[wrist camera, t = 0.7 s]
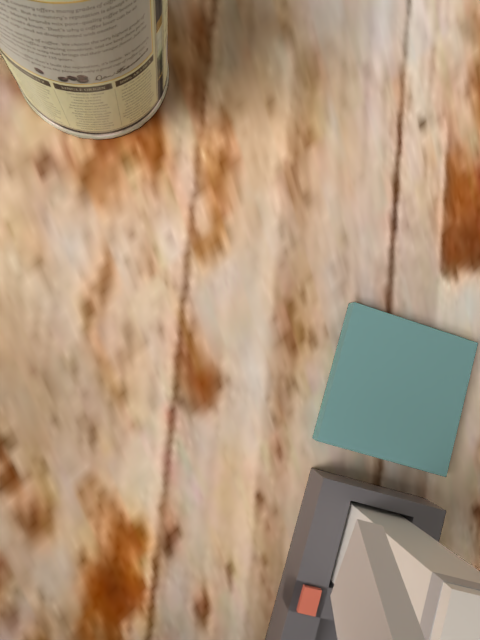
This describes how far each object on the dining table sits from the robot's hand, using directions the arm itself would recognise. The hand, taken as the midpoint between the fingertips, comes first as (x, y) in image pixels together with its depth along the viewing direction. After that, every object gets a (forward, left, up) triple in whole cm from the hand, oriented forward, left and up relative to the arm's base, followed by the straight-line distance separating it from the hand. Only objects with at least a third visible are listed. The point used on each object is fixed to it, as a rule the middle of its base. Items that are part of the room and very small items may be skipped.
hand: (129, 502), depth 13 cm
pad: (+6, -16, -17) cm, 25 cm away
